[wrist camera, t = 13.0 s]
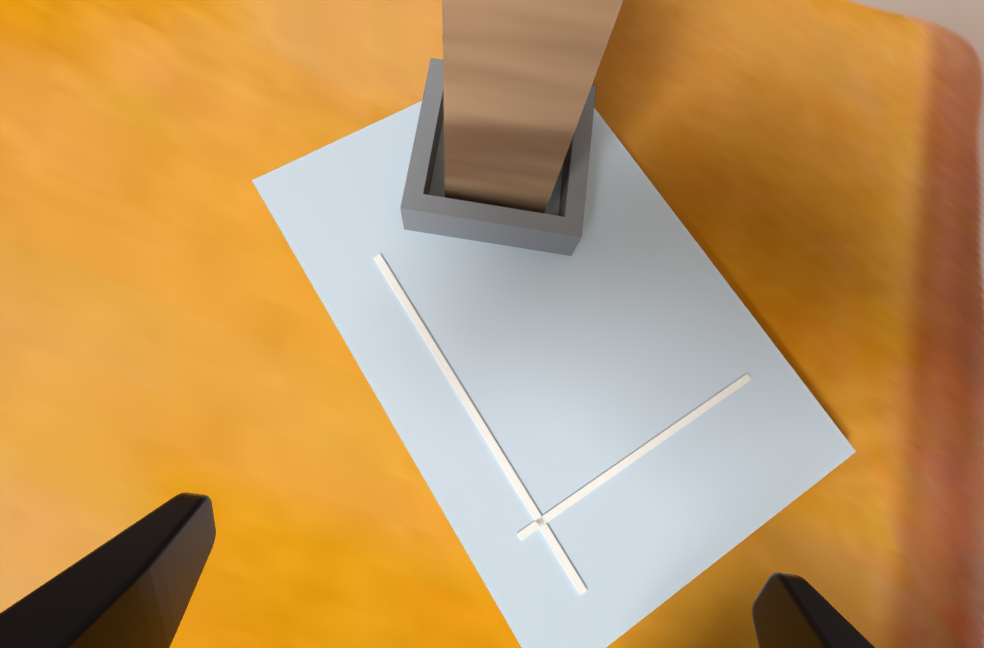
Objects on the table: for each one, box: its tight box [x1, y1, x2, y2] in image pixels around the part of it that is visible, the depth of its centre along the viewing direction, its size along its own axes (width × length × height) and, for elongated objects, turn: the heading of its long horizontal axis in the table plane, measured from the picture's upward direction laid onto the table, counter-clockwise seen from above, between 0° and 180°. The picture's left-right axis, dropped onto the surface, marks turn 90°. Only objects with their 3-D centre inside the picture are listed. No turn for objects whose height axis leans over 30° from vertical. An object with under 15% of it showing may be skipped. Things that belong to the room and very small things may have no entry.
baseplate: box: [252, 58, 856, 648], centre depth 23 cm, size 24×16×3 cm, turn 32°
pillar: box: [442, 0, 623, 213], centre depth 19 cm, size 4×4×13 cm
